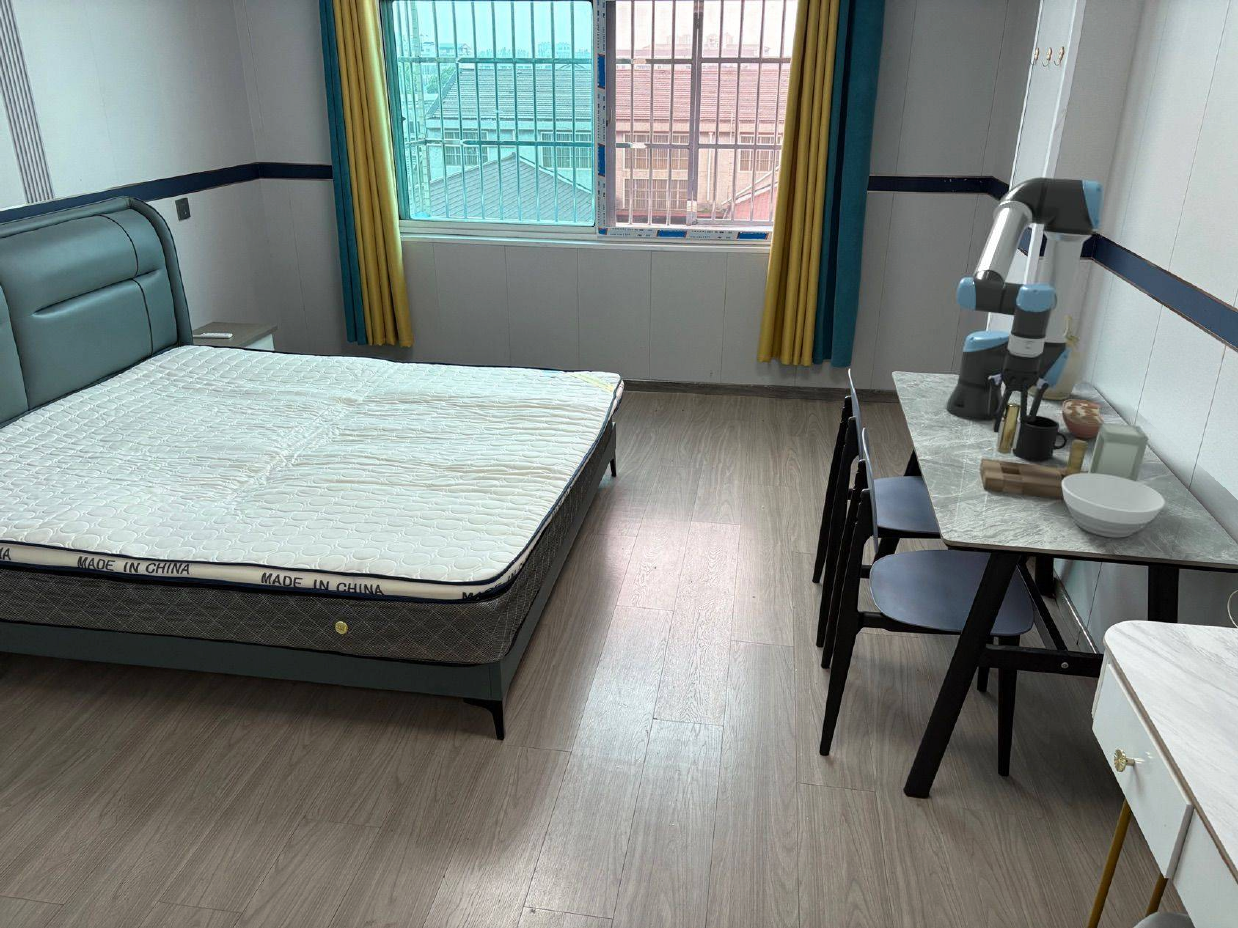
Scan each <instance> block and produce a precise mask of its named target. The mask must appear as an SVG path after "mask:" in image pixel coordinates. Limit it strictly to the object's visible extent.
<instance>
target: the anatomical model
mask: <svg viewBox="0 0 1238 928" xmlns="http://www.w3.org/2000/svg"><path fill="white" fill-rule="evenodd" d="M1061 407H1062V408H1061V415H1062V420H1063V422H1064V424H1065V426H1066V428H1067V429H1068V430H1069V432H1070V433H1071V434H1072V435H1073V436H1076V437H1077V438H1079V439H1090V438H1091V439H1092V438H1095V437H1097V435H1098V431H1099V427H1100V423H1101V422H1104V423H1106V422H1105V421H1104V420H1103V418H1102V417H1101V415H1100V408H1101V407H1100V405H1099V404H1097V403H1094V402H1092V401H1089V400H1083V399H1076V398H1075V399H1073V398H1071V399H1065V401H1063V403H1062V406H1061Z"/></svg>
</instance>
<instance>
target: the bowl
mask: <svg viewBox="0 0 1238 928" xmlns="http://www.w3.org/2000/svg"><path fill="white" fill-rule="evenodd" d="M1062 490H1063V496H1064V503H1065V505H1066V508H1067V509H1068V510H1069V513H1070V515H1071V517H1072V519H1073V520H1074V522H1075V525H1077V526H1078V527H1080V528H1081V529H1082V530H1083V531H1086V532H1088V533H1090V534H1094V535H1097V536H1101V537H1106V538H1113V539H1115V538H1116V539H1117V538H1118V539H1119V538H1127V537H1129V536H1131V535H1132V534H1135V533H1136V532H1138V531H1140V530H1141V529H1142V528H1143V527H1145V526H1146V525H1148V524H1149V523H1150V522H1152V520H1154V519H1155V518H1156V517H1157V516H1158V514H1159V513H1160V511H1162V509H1163V508H1164V507H1165V504H1166V502H1165V497H1163V495H1161V494H1160V493H1159V492H1158V491H1157V490H1155V489H1153V488H1151V487H1150V486H1147V485H1145V484H1143V483H1141V482H1135V481H1132V480H1129V479H1126V478H1121V477H1117V476H1112V475H1106V474H1097V473H1079V474H1073V475H1069V476H1067V477H1065V478H1064V479H1063V481H1062Z"/></svg>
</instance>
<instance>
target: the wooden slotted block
mask: <svg viewBox="0 0 1238 928" xmlns="http://www.w3.org/2000/svg"><path fill="white" fill-rule="evenodd" d="M1087 447H1088V442H1087V441H1084V440H1081V439H1074V440H1072V443H1071V447H1070V452H1069V456H1068V460H1067V464H1066V468H1065V467H1064V468H1062V467H1055V466H1047V465H1038V464H1031V463H1024V462H1023V463H1022V462H1015V461H1013V462H1012V461H1006V460H996V459H989V458H981V462H980V466H979V474H980V477H981V482H982V487H983V490H985V491H994V492H1001V493H1011V494H1018V495H1025V496H1031V497H1033V496H1034V497H1041V498H1046V499H1047V498H1048V499H1056V500H1064V496H1063V490H1062V481H1063V479H1064V478H1065V477H1067V476H1069V475H1073V474H1079V473H1088V471H1089V470H1082V467H1083V463H1084V458H1085V456H1086V451H1087ZM1064 501H1065V500H1064Z"/></svg>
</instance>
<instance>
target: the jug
mask: <svg viewBox="0 0 1238 928" xmlns="http://www.w3.org/2000/svg"><path fill="white" fill-rule="evenodd" d="M1065 324H1066V331H1065V333H1064V334H1063V335H1064V337H1065V338H1066V339H1067V343H1066V347H1069V348H1070V349H1071V352H1070V354H1069V357H1068V360H1067V363H1066V365H1065V368H1064V370H1063V373H1062V375H1061V378H1060V380H1059V382H1058V384H1057V386H1055V387H1054V388H1047V390H1046V391H1045V392H1044V394H1043V397H1042V400H1050V401H1063V399H1064V400H1068V398H1070V395H1071V393H1072V392H1073V390H1074V387H1075V384H1076V383H1077V380H1078V379H1079V377H1080V374H1081V371H1082V367H1083V365H1082V362H1083V361H1082V356H1081V353H1080V351H1079V350H1078V349H1077V348H1076V347H1075V346H1074V345H1075V344H1076V343H1077V342H1080V338H1079V337H1078V336H1076V335H1074V334H1073V333H1074V330H1075V321H1074V319H1073V318H1072V316H1071V315H1070V314H1068V313H1067V316H1066V320H1065ZM1036 390H1037V387H1036V386H1032V387H1031V388H1030V389H1029V390H1028V395H1030V396H1032V397H1035V394H1036Z"/></svg>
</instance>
